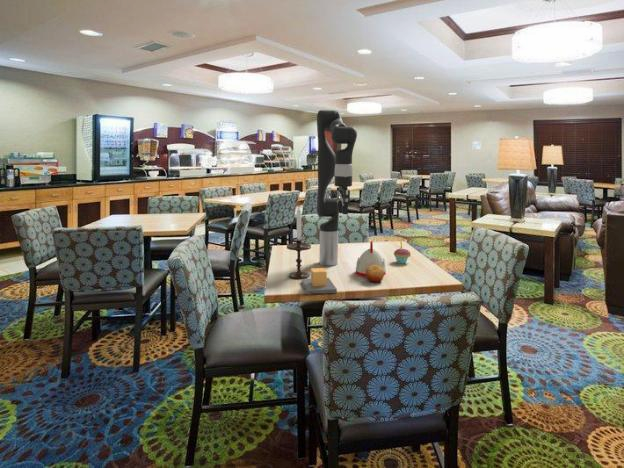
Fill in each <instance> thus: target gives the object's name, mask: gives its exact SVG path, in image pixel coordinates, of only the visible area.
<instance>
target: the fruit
mask: <svg viewBox="0 0 624 468" xmlns="http://www.w3.org/2000/svg"><path fill="white" fill-rule="evenodd" d="M366 276H367V277H366V278H367V280H368V281H369V282H370V283H378V282H379V283H380V282H382V281H383V280H384V277H385V276H384V271H383V268H381V267H380V266H378V265H372V266H369V267H368V268H367V269H366Z"/></svg>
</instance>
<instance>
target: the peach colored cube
mask: <svg viewBox="0 0 624 468" xmlns="http://www.w3.org/2000/svg"><path fill="white" fill-rule="evenodd" d="M327 272H328V271H327V270H326V269H325V267H319V268H318V267H317V268H315V267H314V268H311V269H310V279H311V283H312V285H313V286H326V282H327V278H328V276H327V274H328V273H327Z"/></svg>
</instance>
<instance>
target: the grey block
mask: <svg viewBox="0 0 624 468" xmlns="http://www.w3.org/2000/svg"><path fill="white" fill-rule="evenodd" d="M301 284H302V286H303V285H304V286H303V288H304V287H305V288H304V290H305V289H306V290H305V292H306V291H307V292H306V294H307V293H322V294H337V292H338V289H337V288H336V286H335V285H334V283H333V282H332V280H331V279H330V278H329V277H327V282H326V286H313V285H312V283H311V278H306V279H301Z"/></svg>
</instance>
